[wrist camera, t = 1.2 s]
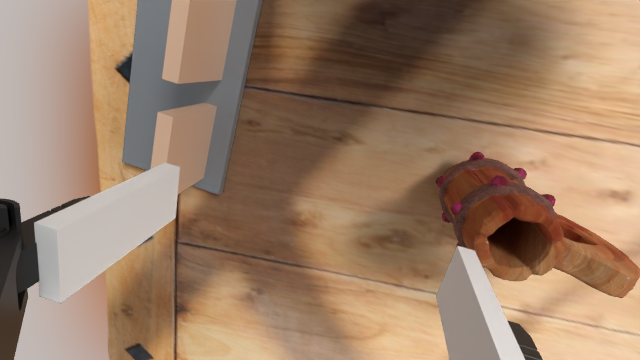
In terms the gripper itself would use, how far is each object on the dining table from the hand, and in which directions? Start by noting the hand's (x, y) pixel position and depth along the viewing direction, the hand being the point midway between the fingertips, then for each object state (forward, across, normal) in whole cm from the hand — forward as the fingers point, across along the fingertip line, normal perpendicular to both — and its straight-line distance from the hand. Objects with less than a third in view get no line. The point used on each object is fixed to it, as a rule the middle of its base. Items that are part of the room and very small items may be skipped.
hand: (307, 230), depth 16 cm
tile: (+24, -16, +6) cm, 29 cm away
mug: (+25, +17, -3) cm, 31 cm away
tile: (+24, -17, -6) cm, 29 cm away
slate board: (+25, -20, +1) cm, 32 cm away
